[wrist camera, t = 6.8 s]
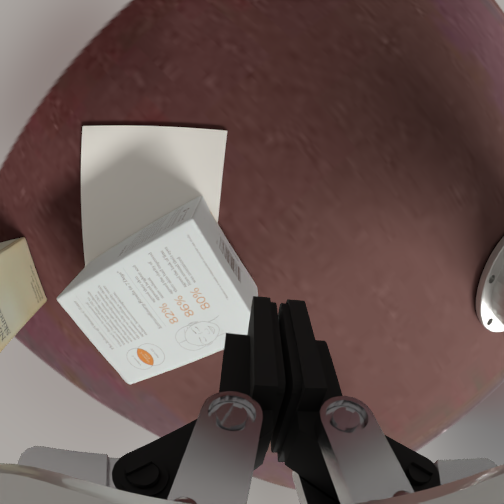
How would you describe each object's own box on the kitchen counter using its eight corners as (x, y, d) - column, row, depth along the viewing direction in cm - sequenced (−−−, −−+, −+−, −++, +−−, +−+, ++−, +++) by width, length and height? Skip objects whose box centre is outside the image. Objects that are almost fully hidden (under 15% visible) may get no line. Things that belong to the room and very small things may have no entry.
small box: (204, 192, 20) (86, 260, 22) (192, 216, 15) (52, 297, 17) (259, 289, 23) (144, 339, 25) (264, 335, 18) (127, 386, 20)
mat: (227, 130, 19) (227, 130, 19) (211, 296, 24) (211, 299, 23) (85, 126, 18) (82, 126, 18) (89, 281, 23) (87, 284, 23)
